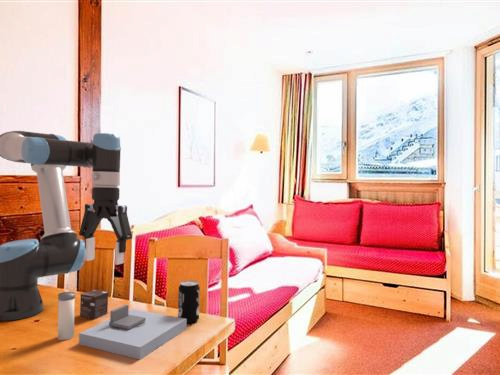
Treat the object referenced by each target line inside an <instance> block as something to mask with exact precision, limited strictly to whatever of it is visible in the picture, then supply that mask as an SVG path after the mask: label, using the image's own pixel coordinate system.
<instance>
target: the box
mask: <svg viewBox="0 0 500 375" xmlns="http://www.w3.org/2000/svg"><path fill="white" fill-rule="evenodd" d="M108 303H109V292H108V291H104V290H99V289H93V290H90V291H89V290H88V291H87V292H82V293H81V294H80V306H79V307H80V308H79V311H80V313H79V317H82V318H85V319H90V320H96V319H98V318H101V317H103V316H106V315H108V311H109V310H108V309H109V308H108V306H109V305H108Z"/></svg>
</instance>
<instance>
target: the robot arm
mask: <svg viewBox="0 0 500 375" xmlns="http://www.w3.org/2000/svg"><path fill="white" fill-rule="evenodd" d="M121 149H122V148H121V138H120V136H119V135H118V134H114V133H105V132H103V133H102V132H100V133H99V132H97V133H95V134H94V135H93V137H92V142H87V141H86V142H85V141H77V140H76V141H75V140H67V139H66V137H64V136H61V135H58V134H54V133H41V132H33V131H25V130H10V131H6V132H3V133H1V134H0V158H2V159H5V160H7V161H11V162H13V163H22V164H30V167H31V170H32V171H33V172H35V173H36V178H37V185H38V192H39V200H40V206H41V207H40V208H41V214H42V222H43V223H42V224H43V231H44V232H43V233H44V234H43V235H42V236H41V237H40V242H39V240H38V239H37V238H24V239H18V240H12V241H8V242H5V243H3V244H0V322H3V321H4V322H5V321H8V322H9V321H16V320H22V319H26V318H30V317H33V316H36V315H39V314H40V313H42V312H43V311H44V301H43V299H42V298H43V297H42V296H41V295H42V294H41V293H40V290H39V287H38V280H39V278H44V277H51V276H56V275H62V274H66V275H67V274H69V273H73V272H78V271H79V270H80V269H81V268H82V267H83V266H84V263H85V262H89V261H93V260H95V259H96V258H95V254H96V253H95V252H96V250H95V249H96V248H95V247H96V246H95V245H96V238H95V233H96V231H97V229H98V227H99V225H100V223H101V221H102V220H103V219H105V220H107V221H108V222H109V223H110V225H111V228H112V230H113V232H114V234H115V236H116V239H117V240H116V241H115V246H114V247H115V248H114V249H115V254H114V265H115V266H116V265H122V264H125V253H126V251H127V249H126V248H127V247H126V246H127V241H128V240H132V238H133V235H132V231H131V227H130V226H131V225H130V222H129V216H128V206H127V205H125V204H124V205H119V202H118V201H119V200H120V188H119V187H118V186H120V184H121V180H120V178H121V174H120V172H121ZM66 167H80V168H81V167H82V168H89V169H90V168H92V174H91V175H92V180H91V181H92V188H91V199H92V200H93V203H85V204H84V212H83V217H82V221H81V224H80V228H79V232H78V233H77V231H74V230H73V229H72V225H71V219H70V212H69V205H68V199H67V198H68V197H67V193H66V192H67V191H66V186H65V178H64V172H63V171H64V170H65V169H66ZM93 186H94V187H93ZM78 235H79V236H80V237H83V238H84V240H83V239H82V238H78Z"/></svg>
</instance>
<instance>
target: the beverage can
mask: <svg viewBox="0 0 500 375" xmlns="http://www.w3.org/2000/svg"><path fill="white" fill-rule="evenodd" d="M200 287H201V286H200V284H199V282H198V280H197V281H196V280H188V279H187V280H182V281H181V282H179V286H178V291H177V292H178V297H177V298H178V299H177V300H178V301H177V303H178V305H177V306H178V307H177V308H178V309H177V317H179V318H185V319H187V325H189V324H195V323H197V322H198V320H199V318H200V296H201V295H200V294H201V293H200V290H201V288H200Z"/></svg>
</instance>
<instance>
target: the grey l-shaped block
mask: <svg viewBox="0 0 500 375" xmlns="http://www.w3.org/2000/svg"><path fill="white" fill-rule="evenodd" d="M129 307H130V306H129V305H128V304H123V305H122V306H119V307H117V308H114V309H112V310H110V317H109V318H110V322H109V325H111V326H116V327H120V328H125V329H130V328H132V327H134V326H136V325H138V324H140V323H142V322H144V321H146V318H144V317H138V316H133V315H128V311H129V310H130V309H129Z"/></svg>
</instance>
